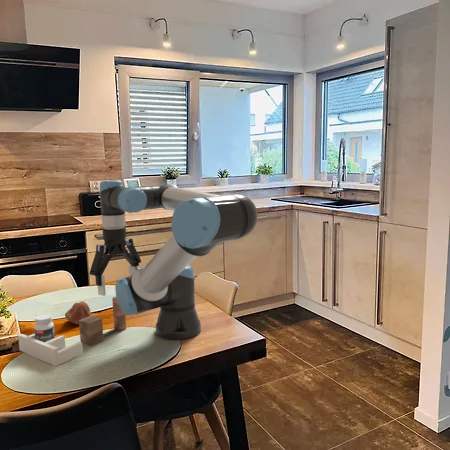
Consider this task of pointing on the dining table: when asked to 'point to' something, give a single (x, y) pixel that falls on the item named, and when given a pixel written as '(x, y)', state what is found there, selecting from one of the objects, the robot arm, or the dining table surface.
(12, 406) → the dining table surface
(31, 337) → the white open tray
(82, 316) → the fossil
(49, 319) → the pill bottle
